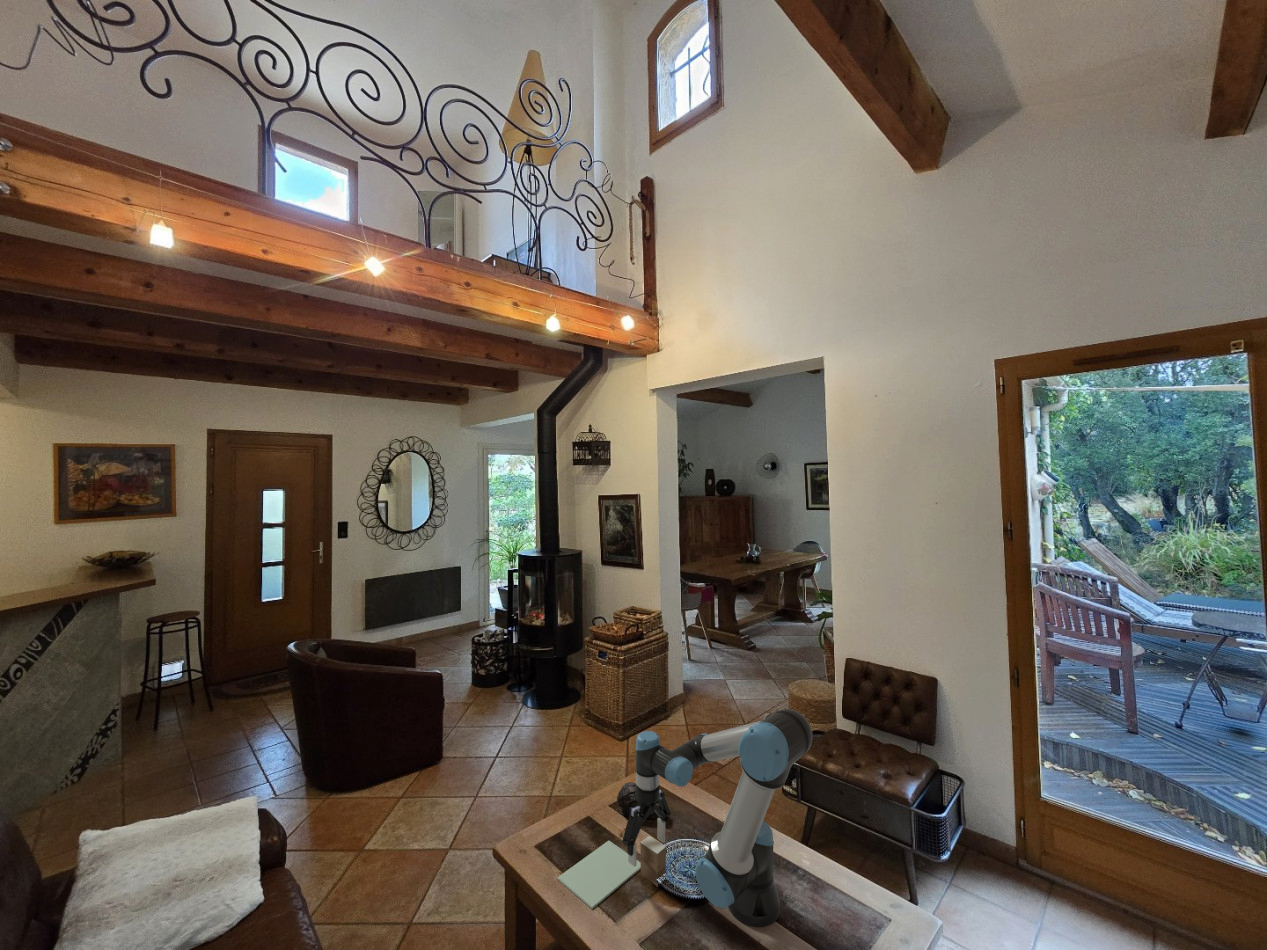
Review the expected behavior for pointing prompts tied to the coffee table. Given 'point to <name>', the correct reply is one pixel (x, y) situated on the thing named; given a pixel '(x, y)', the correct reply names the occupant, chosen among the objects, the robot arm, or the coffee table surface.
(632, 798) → the pine cone
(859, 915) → the coffee table surface
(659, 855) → the beige rectangular block
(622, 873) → the mat
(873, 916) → the coffee table surface
